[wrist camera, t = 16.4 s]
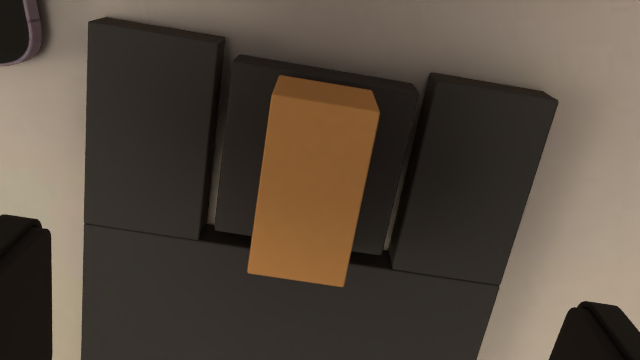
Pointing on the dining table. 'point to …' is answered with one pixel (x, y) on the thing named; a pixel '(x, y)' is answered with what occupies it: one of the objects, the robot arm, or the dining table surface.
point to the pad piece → (311, 165)
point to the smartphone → (19, 31)
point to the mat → (234, 249)
